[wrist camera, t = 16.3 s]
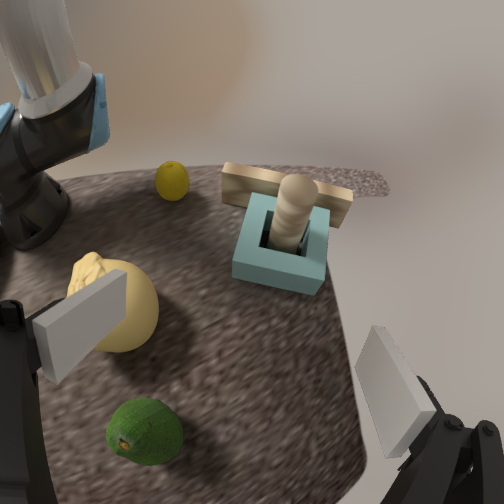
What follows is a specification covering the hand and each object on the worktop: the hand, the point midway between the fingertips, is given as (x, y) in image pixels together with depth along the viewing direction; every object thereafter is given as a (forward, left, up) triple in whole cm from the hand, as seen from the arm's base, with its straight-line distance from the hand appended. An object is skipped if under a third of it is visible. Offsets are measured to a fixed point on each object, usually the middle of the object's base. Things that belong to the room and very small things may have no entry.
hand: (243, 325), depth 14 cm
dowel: (+3, +19, -23) cm, 30 cm away
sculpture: (-17, +3, -23) cm, 29 cm away
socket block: (+2, +19, -23) cm, 30 cm away
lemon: (-17, +25, -23) cm, 38 cm away
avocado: (-8, -10, -23) cm, 26 cm away
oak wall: (+1, +27, -23) cm, 36 cm away
